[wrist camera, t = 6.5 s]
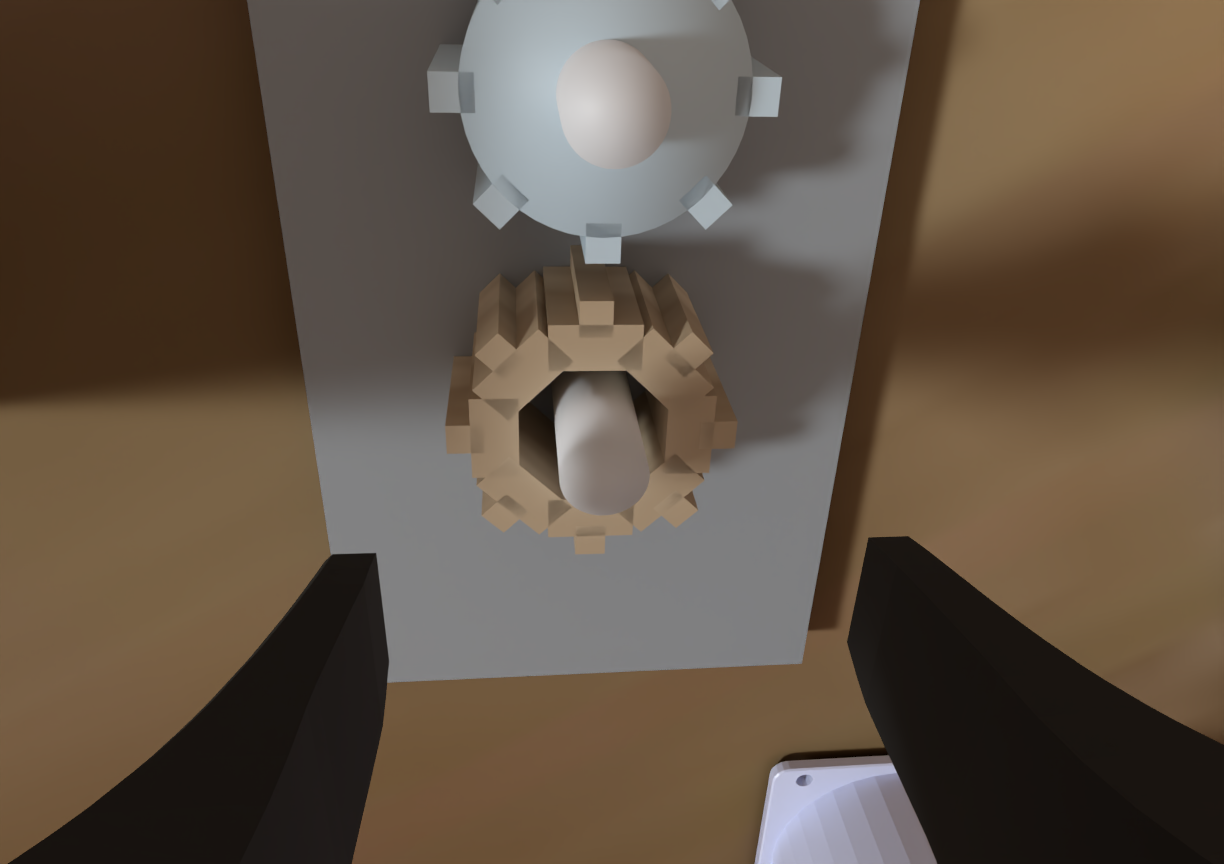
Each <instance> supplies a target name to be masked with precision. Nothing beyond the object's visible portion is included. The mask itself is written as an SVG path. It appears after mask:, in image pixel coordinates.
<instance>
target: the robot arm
mask: <svg viewBox="0 0 1224 864" xmlns="http://www.w3.org/2000/svg"><path fill="white" fill-rule="evenodd" d="M847 643H848V647H849V650H850V654H851V657H852V661H853V664H854V668H855V671H856V675H857V678H858V681H859V684H860V688H861V691H862V694H863V697H864V700H865V703H866V705H867V708H868V710H869V712H870V715H871V717H872V719H873V721H874V724H875V726H876V728H877V730H878V733H879V735H880V737H881V739H882V741H883V744H884V746H885V748H886V750H887V752H888V755H883V756H865V757H847V758H830V759H812V760H794V761H784V762H780V763H778V764H776V765H775V766H774V767H773V768H772V770H771V772H770V776H769V782H768V788H767V794H766V799H765V805H764V811H763V817H762V823H761V829H760V835H759V841H758V847H757V853H756V859H755V864H1224V745H1222V744H1220V743H1218V742H1217V741H1215V740H1213V739H1211V738H1209V737H1207V736H1205V735H1203V734H1201V733H1199V732H1197V731H1195V730H1193V729H1191V728H1189V727H1187V726H1185V725H1183V724H1181V723H1179V722H1177V721H1175V720H1173V719H1171V718H1170V717H1168V716H1166V715H1164V714H1162V713H1160V712H1159V711H1157V710H1155V709H1153V708H1151V707H1149V706H1148V705H1146V704H1144V703H1143V702H1141V701H1139V700H1138V699H1136V698H1134V697H1133V696H1131V695H1129V694H1127V693H1126V692H1124V691H1122V690H1121V689H1119V688H1117V687H1116V686H1114V685H1112V684H1111V683H1109V682H1107V681H1105V680H1104V679H1102V678H1101V677H1099V676H1098V675H1096V674H1094V673H1093V672H1091V671H1090V670H1088V669H1087V668H1085V667H1083V666H1082V665H1080V664H1079V663H1077V662H1076V661H1075V660H1073V659H1072V658H1070V657H1069V656H1067V655H1066V654H1064V653H1063V652H1061V651H1060V650H1058V649H1057V648H1056V647H1054V646H1053V645H1051V644H1050V643H1048V642H1047V641H1045V640H1044V639H1042V638H1041V637H1040V636H1038V635H1037V634H1036V633H1034V632H1033V631H1031V630H1030V629H1029V628H1027V627H1026V626H1024V625H1023V624H1022V623H1020V622H1019V621H1018V620H1016V619H1015V618H1014V617H1012V616H1011V615H1010V614H1008V613H1007V612H1006V611H1004V610H1003V609H1002V608H1000V607H999V606H998V605H997V604H995V603H994V602H993V601H991V600H990V599H989V598H987V597H986V596H985V595H984V594H982V593H981V592H980V591H978V590H977V589H976V588H975V587H973V586H972V585H971V584H970V583H968V582H967V581H966V580H964V579H963V578H962V577H961V576H959V575H958V574H957V573H956V572H954V571H953V570H952V569H951V568H949V567H948V566H947V565H945V564H944V563H943V562H942V561H940V560H939V559H938V558H937V557H935V556H934V555H933V554H931V553H930V552H929V551H928V550H926V549H925V548H924V547H922V546H921V545H920V544H918V543H917V542H915V541H914V540H913V539H911V538H910V537H908V536H905V537H873V538H868V543H867V548H866V553H865V557H864V562H863V567H862V572H861V577H860V582H859V587H858V592H857V596H856V601H855V606H854V611H853V616H852V621H851V626H850V631H849V635H848V640H847ZM388 669H389V655H388V647H387V639H386V630H385V622H384V614H383V605H382V597H381V588H380V580H379V572H378V563H377V555H376V553H356V554H332V555H331V556H330V557H329V558H328V559H327V560H326V561H325V562H324V563H323V565H322V566H321V568H320V569H319V570H318V572H317V573H316V575H315V576H314V577H313V579H312V580H311V581H310V583H309V584H308V586H307V587H306V588H305V590H304V591H303V592H302V594H301V595H300V596H299V598H298V599H297V600H296V602H295V603H294V604H293V605H292V607H291V608H290V609H289V611H288V612H287V613H286V615H285V616H284V617H283V618H282V620H281V621H280V622H279V623H278V624H277V626H276V627H275V628H274V629H273V631H272V632H271V633H270V634H269V635H268V637H267V638H266V639H265V640H264V641H263V643H262V644H261V645H260V646H259V648H258V649H257V650H256V651H255V652H254V654H253V655H252V656H251V657H250V658H249V659H248V660H247V662H246V663H245V664H244V665H243V666H242V667H241V668H240V669H239V670H238V671H237V672H236V674H235V675H234V676H233V677H232V678H231V679H230V680H229V681H228V682H227V683H226V684H225V686H224V687H223V688H222V689H221V690H220V691H219V692H218V693H217V694H216V695H215V696H214V697H213V699H212V700H211V701H210V702H209V703H208V704H207V705H206V706H205V707H204V708H203V709H202V710H201V711H200V712H199V713H198V714H197V715H196V716H195V717H194V718H193V719H192V720H191V721H190V722H189V723H188V724H186V725H185V726H184V727H183V728H182V729H181V730H180V731H179V732H178V733H177V734H176V735H175V736H174V737H173V738H172V739H170V740H169V741H168V742H167V743H166V744H165V745H164V746H163V747H162V748H161V749H160V750H158V751H157V752H156V753H155V754H154V755H153V756H152V757H151V758H149V759H148V760H147V761H146V762H145V763H143V764H142V765H141V766H140V767H139V768H137V769H136V770H135V771H134V772H133V773H131V774H130V775H129V776H128V777H126V778H125V779H124V780H123V781H121V782H120V783H119V784H118V785H116V786H115V787H114V788H113V789H111V790H110V791H109V792H108V793H106V794H105V795H104V796H103V797H101V798H100V799H99V800H97V801H96V802H95V803H94V804H92V805H91V806H90V807H89V808H87V809H86V810H85V811H83V812H82V813H80V814H79V815H78V816H76V817H75V818H74V819H72V820H71V821H69V822H68V823H67V824H65V825H64V826H62V827H61V828H60V829H58V830H57V831H55V832H54V833H53V834H51V835H50V836H48V837H47V838H45V839H44V840H42V841H41V842H39V843H38V844H36V845H35V846H33V847H32V848H31V849H29V850H28V851H26V852H25V853H23V854H22V855H20V856H19V857H17V858H16V859H14V860H13V861H11V862H10V863H8V864H352V859H353V855H354V851H355V846H356V842H357V837H358V833H359V829H360V824H361V820H362V816H363V811H364V807H365V802H366V798H367V794H368V789H369V785H370V781H371V776H372V772H373V767H374V763H375V758H376V754H377V749H378V745H379V740H380V736H381V731H382V726H383V718H384V709H385V700H386V689H387V679H388Z"/></svg>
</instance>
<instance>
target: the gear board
mask: <svg viewBox="0 0 1224 864" xmlns="http://www.w3.org/2000/svg"><path fill="white" fill-rule="evenodd" d="M919 3H920V0H247V4H248V10H249V17H250V23H251V30H252V37H253V43H254V50H255V56H256V63H257V70H258V76H259V83H260V89H261V96H262V103H263V109H264V116H265V122H266V129H267V136H268V142H269V149H270V156H271V162H272V169H273V175H274V182H275V189H276V195H277V202H278V208H279V215H280V222H281V228H282V235H283V241H284V248H285V255H286V261H287V268H288V274H289V281H290V288H291V294H292V301H293V307H294V314H295V321H296V327H297V334H298V340H299V347H300V354H301V360H302V367H303V373H304V380H305V387H306V393H307V400H308V406H309V413H310V420H311V426H312V433H313V439H314V446H315V453H316V459H317V466H318V473H319V479H320V486H321V492H322V499H323V506H324V512H325V519H326V525H327V532H328V539H329V545H330V552H331V555H332V554H356V553H376V555H377V563H378V572H379V580H380V588H381V597H382V605H383V614H384V622H385V630H386V639H387V647H388V655H389V669H388V679H387V682H409V681H430V680H452V679H474V678H496V677H518V676H540V675H561V674H583V673H605V672H627V671H649V670H670V669H692V668H714V667H736V666H758V665H779V664H801V663H802V659H803V653H804V648H805V642H806V636H807V631H808V625H809V620H810V614H811V608H812V603H813V597H814V592H815V586H816V580H817V575H818V569H819V564H820V558H821V552H822V547H823V541H824V536H825V530H826V524H827V519H828V513H829V508H830V502H831V496H832V491H833V485H834V480H835V474H836V468H837V463H838V457H839V452H840V446H841V440H842V435H843V429H844V424H845V418H846V412H847V407H848V401H849V395H850V390H851V384H852V379H853V373H854V367H855V362H856V356H857V351H858V345H859V339H860V334H861V328H862V323H863V317H864V311H865V306H866V300H867V295H868V289H869V283H870V278H871V272H872V267H873V261H874V255H875V250H876V244H877V239H878V233H879V227H880V222H881V216H882V211H883V205H884V199H885V194H886V188H887V183H888V177H889V171H890V166H891V160H892V155H893V149H894V143H895V138H896V132H897V126H898V121H899V115H900V110H901V104H902V98H903V93H904V87H905V82H906V76H907V70H908V65H909V59H910V54H911V48H912V42H913V37H914V31H915V26H916V20H917V14H918V9H919ZM570 245H582V250H583V255H584V260H585V264H605V267H626V268H627V271H628V274H631V273H632V272H633V271H634V270H635V271H636V272H637V273H638V274H639V275H640V276H641V277H642V278H643V279H644V280H645V281H646V282H647V283H648V284H649V285H650V286H651V287H653V286H655V285H656V284H657V283H658V282H659V281H660V280H661V279H662V278H663V277H665V276H666V275H667V274H669V275H670V276H671V277H672V278H673V279H674V280H675V281H676V282H677V283H678V284H679V285H680V286H681V287H682V288H683V289H684V290H685V291H686V292H687V294H688V296H689V299H690V301H691V303H692V305H693V308H694V310H695V312H696V314H697V317H698V319H699V321H700V323H701V326H702V328H703V330H704V333H705V335H706V337H707V339H708V342H709V344H710V346H711V348H712V351H713V354H712V355H711V356H710V358H711V361H712V363H713V365H714V368H715V370H716V372H717V375H718V377H719V379H720V382H721V384H722V386H723V389H724V391H725V393H726V396H727V398H728V400H729V402H730V405H731V407H732V409H733V412H734V414H735V416H736V419H737V421H738V423H737V431H736V440H735V448H730V449H712V450H711V460H710V469H709V473H702V474H703V477H704V480H705V481H703V482H702V483H701V484H700V485H698V486H697V487H696V488H695V489H694V490H692V491H693V495H694V498H695V501H696V504H697V508H698V511H697V512H695V513H694V514H693V515H692V516H690V517H689V518H688V519H687V520H685V521H684V522H683V523H682V524H680V525H679V526H678V527H677V528H675V527H674V526H673V525H672V524H671V523H670V522H668V521H667V520H666V519H665V518H664V517H663V516H660V517H659V518H658V519H656V520H655V521H654V522H653V523H651V524H650V525H649V526H648V527H646V528H645V529H644V530H643V531H640V530H638V529H637V528H636V527H635V526H634V525H633V532H632V535H612V536H605V554H575V547H574V537H548V528H547V529H545V530H544V531H543V532H542V533H541V534H540V535H539V534H538V533H537V532H535V531H534V530H533V529H532V528H530V527H529V526H528V525H526V524H525V523H524V522H523V521H521V520H520V519H519V520H518V521H517V522H516V523H514V524H513V525H512V526H511V527H510V528H509V529H507V530H506V531H505V532H504V533H503V532H502V531H501V530H500V529H498V528H497V527H496V526H494V525H493V524H492V523H490V522H489V521H488V520H486V519H485V518H484V517H482V516H481V515H482V494H483V490H481V489H480V488H479V487H478V486H476V484H477V478H472V463H471V453H465V454H447V448H446V433H445V423H446V415H447V407H448V399H449V391H450V383H451V375H452V367H453V359H454V356H472V352H473V340H474V332H476V330H477V318H478V306H479V293H480V292H481V291H482V290H483V289H484V288H485V287H486V286H487V285H488V284H489V283H490V282H491V281H492V280H493V279H494V278H495V277H496V276H497V275H498V274H501V275H502V276H503V277H504V278H505V279H507V280H508V281H509V282H510V283H511V284H512V285H513V286H514V287H515V288H516V287H517V286H518V285H519V284H520V283H522V282H523V281H524V280H525V279H526V278H527V277H528V276H529V275H530V274H531V273H532V272H533V271H534V270H535V271H536V272H537V273H538V274H539V275H540V276H542V277H543V267H570ZM644 391H645V387H644V386H643V385H642V384H641V383H640V382H639V381H637V380H636V379H635V378H634V377H633V376H632V375H631V374H630V373H629V372H628V371H563V372H562V373H561V374H560V375H558V376H557V377H556V378H555V379H554V380H553V381H552V382H551V383H550V384H548V385H547V386H546V387H545V388H544V389H543V390H542V391H541V392H540V393H539V394H537V395H536V396H535V397H534V398H533V399H532V400H531V401H530V403H531V404H532V405H534V406H535V407H536V408H537V409H538V410H539V411H541V412H542V413H543V414H544V415H545V416H546V417H548V418H549V419H550V420H551V421H552V422H553V423H555V434H556V446H557V458H558V470H559V483H560V488H561V491H562V493H563V495H564V497H565V498H566V500H567V501H568V502H569V503H570V504H571V505H572V506H574V507H575V508H576V509H578V510H580V511H582V512H585V513H588V514H592V515H612V514H616V513H620V512H622V511H624V510H627V509H628V508H630V507H632V506H633V505H634V504H636V503H637V502H638V501H639V500H640V499H641V497H642V496H643V495H644V493H645V491H646V489H647V487H648V484H649V478H650V471H649V466H648V462H647V458H646V454H645V449H644V445H643V441H642V437H641V433H640V429H639V425H638V420H637V416H636V412H635V408H634V404H633V401H634V400H635V399H636V398H638V397H639V396H640V395H641V394H642V393H643V392H644Z"/></svg>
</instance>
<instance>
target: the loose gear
mask: <svg viewBox="0 0 1224 864" xmlns="http://www.w3.org/2000/svg"><path fill="white" fill-rule="evenodd" d="M712 354H713V351H712V348H711V346H710V344H709V342H708V339H707V337H706V335H705V333H704V330H703V328H702V326H701V323H700V321H699V319H698V317H697V314H696V312H695V310H694V308H693V305H692V303H691V301H690V299H689V296H688V294H687V292H686V291H685V290H684V289H683V288H682V287H681V286H680V285H679V284H678V283H677V282H676V281H675V280H674V279H673V278H672V277H671V276H670V275H669V274H667V275H666V276H665V277H663V278H662V279H661V280H660V281H659V282H658V283H657V284H656V285H655V286H653V287H651V286H650V285H649V284H648V283H647V282H646V281H645V280H644V279H643V278H642V277H641V276H640V275H639V274H638V273H637V272H636V271H635V270H634V271H633V272H632V273H631V274H628V271H627V268H626V267H605V264H585V260H584V255H583V250H582V245H570V267H543V277H542V276H540V275H539V274H538V273H537V272H536V271H535V270H534V271H533V272H532V273H531V274H530V275H529V276H528V277H527V278H526V279H525V280H524V281H523V282H522V283H520V284H519V285H518V286H517V287H516V288H515V287H514V286H513V285H512V284H511V283H510V282H509V281H508V280H507V279H505V278H504V277H503V276H502V275H501V274H498V275H497V276H496V277H495V278H494V279H493V280H492V281H491V282H490V283H489V284H488V285H487V286H486V287H485V288H484V289H483V290H482V291H481V292H480V293H479V306H478V318H477V330H476V332H474V340H473V352H472V356H454V359H453V367H452V375H451V383H450V391H449V399H448V407H447V415H446V423H445V433H446V448H447V454H465V453H471V463H472V478H477V484H476V486H478V487H479V488H480V489H481V490H483V494H482V515H481V516H482V517H484V518H485V519H486V520H488V521H489V522H490V523H492V524H493V525H494V526H496V527H497V528H498V529H500V530H501V531H502V532H503V533H504V532H505V531H506V530H507V529H509V528H510V527H511V526H512V525H513V524H514V523H516V522H517V521H518V520H519V519H520V520H521V521H523V522H524V523H525V524H526V525H528V526H529V527H530V528H532V529H533V530H534V531H535V532H537V533H538V534H539V535H540V534H541V533H542V532H543V531H544V530H545V529H547V528H548V537H574V547H575V554H605V536H612V535H632V532H633V525H634V526H635V527H636V528H637V529H638V530H640V531H643V530H644V529H645V528H646V527H648V526H649V525H650V524H651V523H653V522H654V521H655V520H656V519H658V518H659V517H660V516H663V517H664V518H665V519H666V520H667V521H668V522H670V523H671V524H672V525H673V526H674V527H675V528H677V527H678V526H679V525H680V524H682V523H683V522H684V521H685V520H687V519H688V518H689V517H690V516H692V515H693V514H694V513H695V512H697V511H698V508H697V504H696V501H695V498H694V495H693V491H692V490H694V489H695V488H696V487H697V486H698V485H700V484H701V483H702V482H703V481H705V480H704V477H703V474H702V473H709V469H710V460H711V450H712V449H730V448H735V440H736V431H737V423H738V421H737V419H736V416H735V414H734V412H733V409H732V407H731V405H730V402H729V400H728V398H727V396H726V393H725V391H724V389H723V386H722V384H721V382H720V379H719V377H718V375H717V372H716V370H715V368H714V365H713V363H712V361H711V358H710V356H711V355H712ZM563 371H628V372H629V373H630V374H631V375H632V376H633V377H634V378H635V379H636V380H637V381H639V382H640V383H641V384H642V385H643V386H644V387H645V391H644V392H643V393H642V394H641V395H640V396H639V397H638V398H636V399H635V400H634V401H633V404H634V408H635V412H636V416H637V420H638V425H639V429H640V433H641V437H642V441H643V445H644V449H645V454H646V458H647V462H648V466H649V471H650V478H649V484H648V487H647V489H646V491H645V493H644V495H643V496H642V497H641V499H640V500H639V501H638V502H637V503H636V504H634V505H633V506H632V507H630V508H628V509H627V510H624V511H622V512H620V513H616V514H612V515H592V514H588V513H585V512H582V511H580V510H578V509H576V508H575V507H574V506H572V505H571V504H570V503H569V502H568V501H567V500H566V498H565V497H564V495H563V493H562V491H561V488H560V483H559V470H558V458H557V446H556V434H555V423H553V422H552V421H551V420H550V419H549V418H548V417H546V416H545V415H544V414H543V413H542V412H541V411H539V410H538V409H537V408H536V407H535V406H534V405H532V404H531V403H530V401H531V400H532V399H533V398H534V397H535V396H536V395H537V394H539V393H540V392H541V391H542V390H543V389H544V388H545V387H546V386H547V385H548V384H550V383H551V382H552V381H553V380H554V379H555V378H556V377H557V376H558V375H560V374H561V373H562V372H563Z"/></svg>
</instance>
